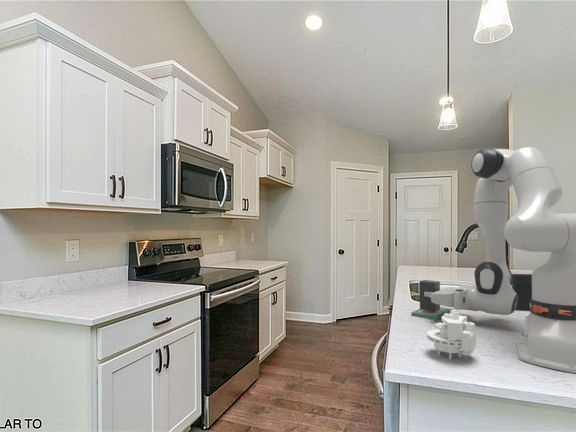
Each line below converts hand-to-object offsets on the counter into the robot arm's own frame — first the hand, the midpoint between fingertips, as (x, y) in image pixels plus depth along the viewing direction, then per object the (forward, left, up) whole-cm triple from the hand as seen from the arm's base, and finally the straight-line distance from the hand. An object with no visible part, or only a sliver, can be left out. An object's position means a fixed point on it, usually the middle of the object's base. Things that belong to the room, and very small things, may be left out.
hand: (427, 292), depth 138 cm
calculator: (+38, -28, -9) cm, 48 cm away
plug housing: (0, -1, -6) cm, 7 cm away
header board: (+3, -1, -9) cm, 9 cm away
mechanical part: (-40, -21, -9) cm, 46 cm away
